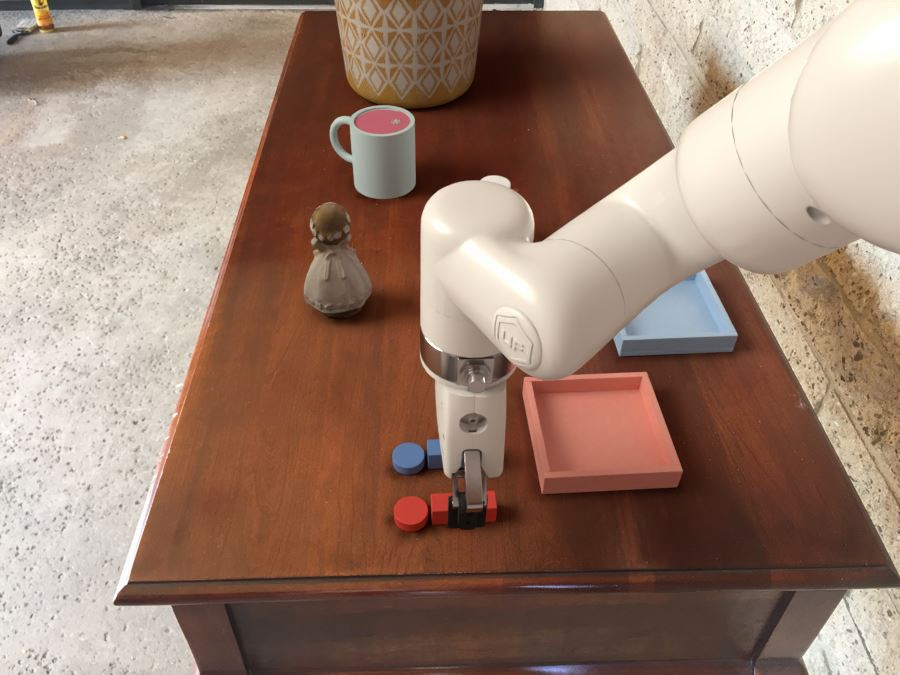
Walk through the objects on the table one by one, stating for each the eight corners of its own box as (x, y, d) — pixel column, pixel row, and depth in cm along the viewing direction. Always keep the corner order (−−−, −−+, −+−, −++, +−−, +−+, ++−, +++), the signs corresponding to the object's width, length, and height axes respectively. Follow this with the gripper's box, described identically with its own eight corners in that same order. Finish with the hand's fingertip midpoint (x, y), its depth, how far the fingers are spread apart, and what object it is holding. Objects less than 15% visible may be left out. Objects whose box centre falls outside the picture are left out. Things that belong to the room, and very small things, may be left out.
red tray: (677, 487, 76) (683, 471, 74) (541, 494, 75) (544, 478, 73) (642, 388, 86) (646, 371, 84) (522, 393, 85) (524, 376, 83)
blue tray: (732, 351, 90) (738, 335, 89) (619, 356, 89) (622, 339, 88) (697, 280, 100) (701, 263, 98) (594, 283, 99) (597, 267, 98)
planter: (322, 111, 132) (309, -23, 118) (355, 50, 151) (347, -73, 137) (474, 123, 130) (480, -13, 116) (488, 59, 149) (495, -64, 134)
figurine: (365, 286, 98) (357, 182, 88) (377, 320, 93) (371, 215, 83) (301, 297, 96) (286, 193, 86) (311, 333, 92) (296, 227, 81)
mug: (426, 175, 118) (426, 114, 111) (396, 205, 112) (393, 142, 105) (350, 153, 122) (345, 93, 116) (316, 181, 116) (309, 119, 109)
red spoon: (496, 527, 72) (498, 513, 71) (394, 532, 72) (393, 519, 70) (492, 498, 75) (493, 485, 73) (393, 504, 74) (392, 490, 73)
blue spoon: (488, 471, 77) (490, 457, 76) (392, 476, 76) (392, 462, 75) (485, 446, 79) (486, 432, 78) (392, 450, 79) (391, 436, 77)
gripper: (537, 428, 52) (515, 562, 64) (505, 268, 65) (491, 405, 77) (425, 432, 52) (424, 567, 63) (415, 270, 64) (415, 407, 76)
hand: (461, 478), depth 70 cm, fingers open, 9 cm apart
